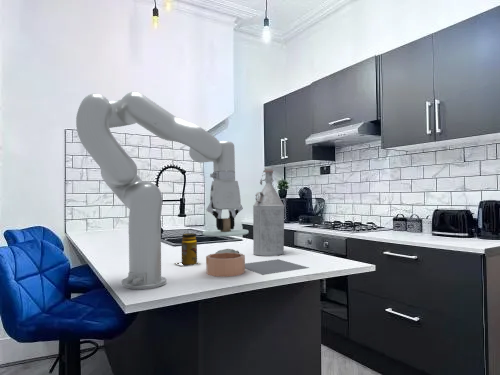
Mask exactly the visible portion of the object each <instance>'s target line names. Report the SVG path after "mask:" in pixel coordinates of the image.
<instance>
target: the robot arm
mask: <svg viewBox="0 0 500 375" xmlns="http://www.w3.org/2000/svg"><path fill="white" fill-rule="evenodd" d="M75 119H76V120H75V124H76V125H75V126H76V132H77V135H78V136H77V137H78V139H79V141H80V144H82V146H83V147H84V149H85V150H86V151H87V153H88V154H89V155H90V157H91V158H92V160H94V162H95V163H96V164H97V165H98V167H99V168H100V175H101V178H102V179H103V181H104V182H105V184H106V185H107V186H108V188H109V189H110V190H111V191H112V192H113V193H114V195H115V196H116V197H117V198H118V199H119V200H120V202H121V203H122V204H123V205H125V207H126V208H127V209H129V214H128V273H127V274H128V276H127V277H125V278H122V280H121V284H122V285H123V287H124V288H126V289H130V290H146V289H147V290H149V289H154V288H159V287H161V286H164V285H166V283H167V278H166V277H164V276H162V233H161V232H162V229H161V228H162V227H161V225H162V223H161V222H162V209H163V194H162V192H161V189H160V188H159V187H158V186H157V185H156V184H154V183H152V182H150V181H143V180H142V178H141V177H140V176H139V175H138V166H137V164H136V162H135V161H134V159H133V158H132V157H131V156H130V155H129V154H128V153H127V152H126V151H125V149H124V148H123V146H122V145H120V143H119V142H118V141H117V139H116V138H115V136H114V135H113V133H112V132H111V129H113V128H118V127H119V128H120V127H125V126H130V125H134V124H137V125H139V126H140V127H143V129H145V130H147V131H149V132H150V133H152V134H153V135H155V136H157V137H158V138H159V139H162V140H164V141H168V142H175V143H178V144H179V143H180V144H182V145H185V146H186V147H189V152H188V154H189V157H190V159H191V160H192V161H194V162H196V163H200V164H202V163H213V166H212V167H213V168H212V169H213V173H210V175H209V177H210V178H213V180H212V181H211V186H210V194H209V195H210V196H209V204H208V205H207V208H206V212H208V213H210V214H211V215H212V216H213V217H214V219H215V224H216V225H215V226H216V229H218V230H223V219H222V213H223V212H222V211H224V210H228V216H229V217H228V218H231V229H235V224H236V223H235V218H236V216H237V215H238V214H239V213H240V212H241V211H243V208H244V207H243V206H242V204H241V191H240V187H239V182H238V180H236V160H235V159H236V157H235V156H236V154H235V152H236V151H235V143H233V142H232V141H229V140H226V141H225V140H221V141H219V139H217V137H215V136H214V135H212V134H211V133H210V132H209V131H207V130H205V129H204V128H202V127H201V126H198V125H197V124H194V123H193V122H190V121H187V120H185V119H183V118H180V117H177V116H176V115H174V114H172V113H170V112H169V111H168V110H166V109H165V108H163V107H162V106H160V105H159V104H157V102H154V101H153V100H151V99H150V98H149V97H148V96H146V95H144V94H143V93H140V92H138V91H131V92H127V93H126V94H125V95H124V96H123V97H122V98H120V99H118V100H117V99H116V100H109V99H107V97H105V96H104V95H103V94H100V93H91V94H88V95H86V96H85V97H84V98H83V99H82V100H81V102H80V105H79V107H78V109H77V112H76V118H75Z"/></svg>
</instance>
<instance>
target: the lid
mask: <svg viewBox="0 0 500 375" xmlns="http://www.w3.org/2000/svg"><path fill="white" fill-rule="evenodd" d="M221 219H223V230H218V229H217V228H216V229H209V230H208V229H207V230H204V231H202V235H203V236H206V237H235V236H236V237H238V236H244V235H247V234H249V230H248V229H245V228H244V229H243V228H234V229H231V218H229V217H223V218H222V217H221Z"/></svg>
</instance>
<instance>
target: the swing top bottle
mask: <svg viewBox="0 0 500 375" xmlns="http://www.w3.org/2000/svg"><path fill="white" fill-rule="evenodd" d="M263 169H264V170H263V171H262V173H261V174H262V175H261V177H263V176H265V178H264V179H263V178H261V179H259V180H260V181H259V184H260V185H261V186H263V181H264V182H265V185H264V186H263V188H262V190H261V191H257V192H256V193H255V194H254V195H255V196H254V197H255V202H254V204H253V205H252V206H253V208H252V209H253V210H252V211H253V212H252V214H253V217H252V219H253V224H252V225H253V231H252V232H253V236H252V237H253V244H252V246H253V255H255V256H262V257H266V256H267V257H273V256H282V255H283V254H284V253H285V246H284V245H285V236H284V235H285V205H284V203H283V201H282V200H281V197H280V196H279V194H278V193H277V192H278V191H276V189H275V187H274V184H273V183H274V181H275V179H274V178H273V174H274V171H275V170H274V168H273V167H268V166H265V167H264V168H263Z"/></svg>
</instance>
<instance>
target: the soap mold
mask: <svg viewBox="0 0 500 375" xmlns="http://www.w3.org/2000/svg"><path fill="white" fill-rule="evenodd" d="M215 253H240V251H239V250H235V249H234V248H224V249H220V250H217V251H216V252H215Z"/></svg>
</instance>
